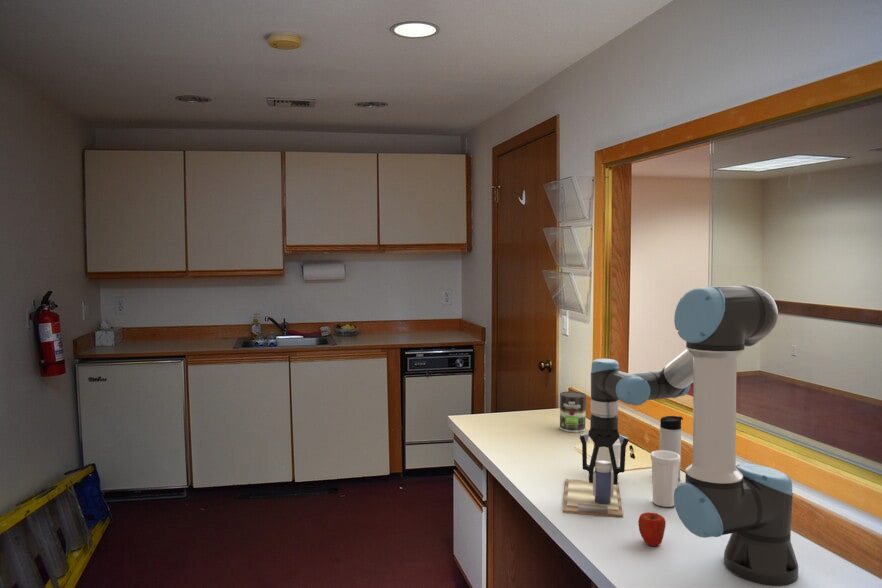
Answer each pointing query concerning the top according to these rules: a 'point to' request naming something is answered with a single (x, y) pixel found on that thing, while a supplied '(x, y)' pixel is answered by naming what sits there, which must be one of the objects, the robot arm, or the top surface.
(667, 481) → the cup
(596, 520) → the top surface
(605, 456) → the cup
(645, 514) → the apple
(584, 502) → the clipboard
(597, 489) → the blue bottle
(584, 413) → the coffee can
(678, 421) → the travel mug
